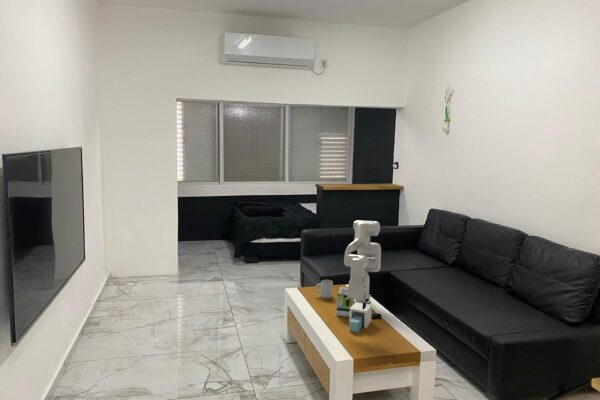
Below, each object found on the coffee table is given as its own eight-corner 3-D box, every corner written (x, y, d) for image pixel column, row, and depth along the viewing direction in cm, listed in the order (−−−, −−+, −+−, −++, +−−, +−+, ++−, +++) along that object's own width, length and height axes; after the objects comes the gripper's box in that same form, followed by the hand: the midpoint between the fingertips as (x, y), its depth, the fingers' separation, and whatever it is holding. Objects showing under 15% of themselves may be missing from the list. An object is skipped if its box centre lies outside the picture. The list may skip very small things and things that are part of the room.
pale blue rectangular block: (355, 323, 281) (355, 314, 281) (363, 325, 280) (363, 315, 279) (349, 331, 270) (349, 321, 270) (357, 332, 269) (358, 322, 268)
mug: (331, 294, 333) (331, 279, 332) (333, 298, 325) (333, 283, 324) (314, 294, 332) (315, 279, 331) (316, 298, 324) (316, 283, 322)
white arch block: (355, 318, 290) (355, 302, 288) (371, 321, 286) (371, 304, 284) (349, 324, 279) (349, 308, 277) (365, 328, 275) (366, 311, 273)
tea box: (351, 317, 291) (352, 294, 289) (336, 315, 293) (336, 293, 291) (353, 308, 306) (354, 287, 304) (338, 307, 308) (339, 285, 306)
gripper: (373, 279, 268) (371, 307, 270) (344, 275, 275) (343, 303, 277) (369, 282, 261) (368, 311, 263) (340, 278, 268) (339, 307, 270)
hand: (355, 307), depth 270 cm, fingers open, 9 cm apart
